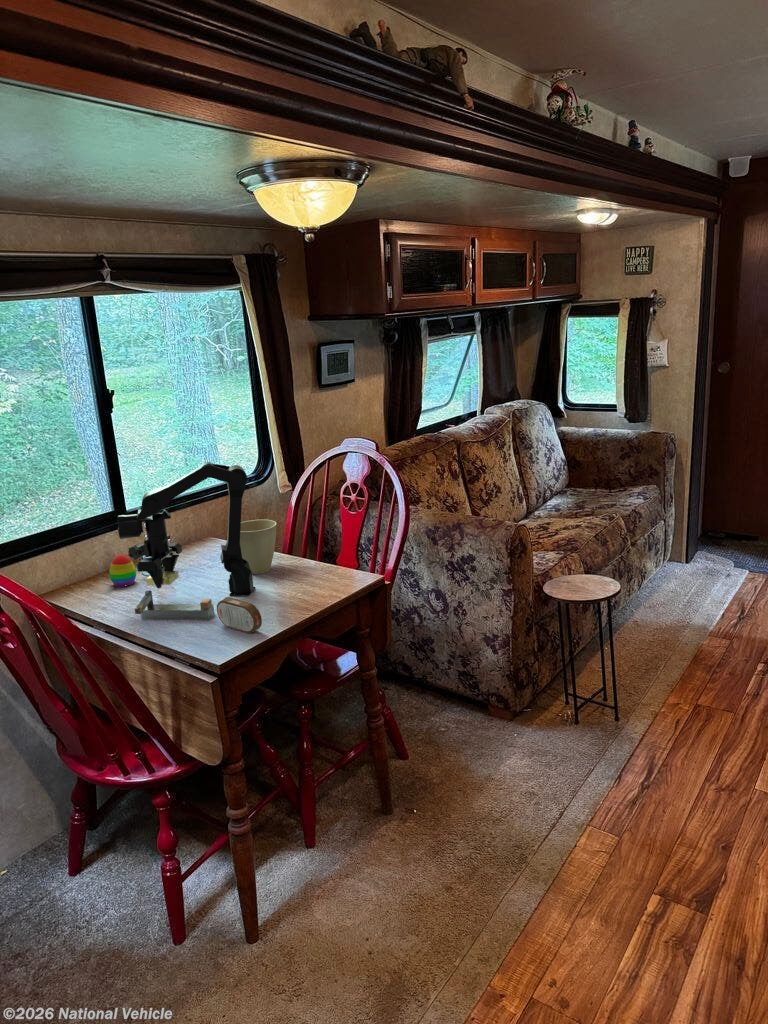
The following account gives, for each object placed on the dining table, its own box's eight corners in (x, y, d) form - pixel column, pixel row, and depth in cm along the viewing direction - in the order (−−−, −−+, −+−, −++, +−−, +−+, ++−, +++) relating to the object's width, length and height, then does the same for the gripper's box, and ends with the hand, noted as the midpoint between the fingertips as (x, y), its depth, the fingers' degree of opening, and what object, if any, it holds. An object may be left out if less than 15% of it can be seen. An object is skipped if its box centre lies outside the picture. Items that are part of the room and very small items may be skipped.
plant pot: (286, 563, 244) (281, 518, 240) (273, 578, 230) (268, 531, 226) (244, 563, 246) (239, 519, 242) (229, 578, 232) (224, 531, 228)
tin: (264, 632, 189) (261, 603, 187) (255, 637, 186) (252, 607, 184) (225, 621, 197) (221, 593, 195) (216, 625, 195) (213, 597, 193)
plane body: (214, 613, 203) (212, 597, 202) (208, 620, 199) (206, 603, 198) (148, 613, 206) (146, 597, 205) (141, 620, 202) (139, 603, 200)
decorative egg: (107, 589, 228) (103, 559, 226) (116, 580, 236) (111, 552, 233) (133, 587, 228) (128, 558, 226) (140, 578, 236) (136, 550, 234)
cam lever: (143, 621, 192) (140, 606, 191) (136, 622, 192) (133, 606, 191) (154, 605, 203) (152, 590, 202) (148, 605, 203) (145, 590, 202)
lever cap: (178, 576, 214) (178, 570, 213) (170, 584, 208) (169, 578, 207) (157, 577, 215) (156, 570, 214) (147, 584, 208) (146, 578, 208)
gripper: (145, 525, 217) (152, 573, 221) (115, 544, 199) (123, 595, 204) (179, 525, 216) (186, 573, 220) (152, 543, 198) (160, 595, 202)
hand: (164, 583), depth 211 cm, fingers closed on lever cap, 6 cm apart
